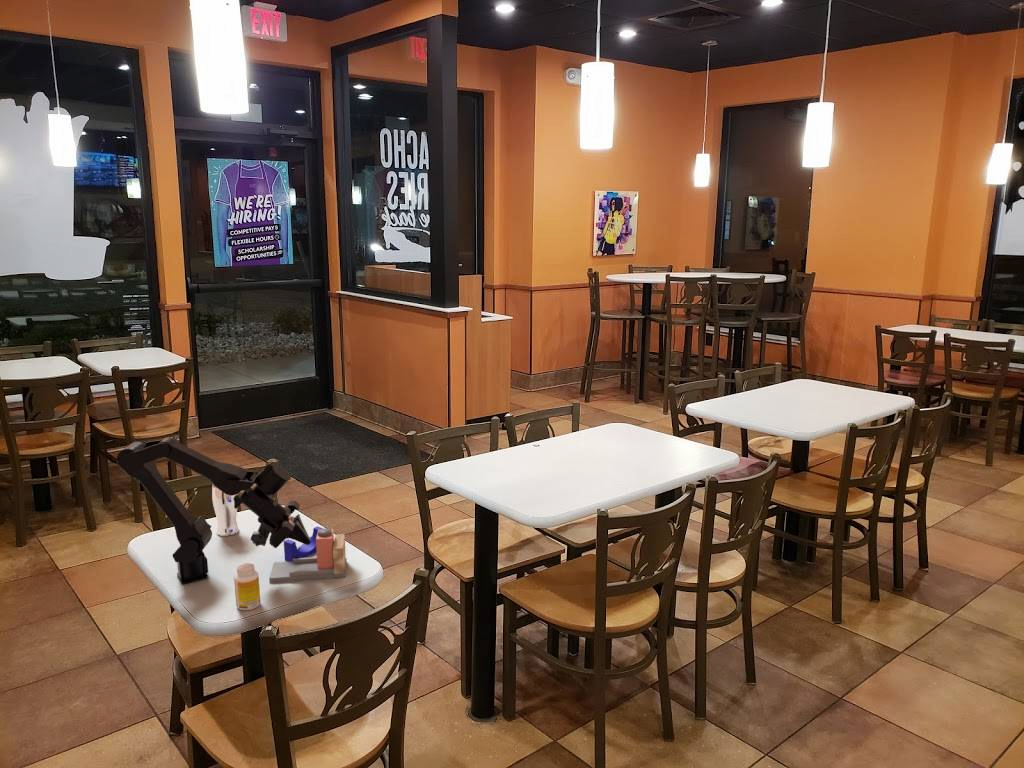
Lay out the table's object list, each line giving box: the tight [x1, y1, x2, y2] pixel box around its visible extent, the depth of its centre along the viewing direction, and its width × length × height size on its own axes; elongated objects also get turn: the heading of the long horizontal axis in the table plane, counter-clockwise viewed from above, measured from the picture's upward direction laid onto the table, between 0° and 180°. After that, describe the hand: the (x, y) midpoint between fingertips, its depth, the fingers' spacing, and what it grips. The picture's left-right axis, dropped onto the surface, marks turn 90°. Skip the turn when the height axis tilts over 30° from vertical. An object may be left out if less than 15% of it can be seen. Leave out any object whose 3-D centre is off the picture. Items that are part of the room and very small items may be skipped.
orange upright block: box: [316, 527, 335, 569], centre depth 201 cm, size 4×6×10 cm, turn 9°
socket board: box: [268, 556, 348, 583], centre depth 202 cm, size 19×9×2 cm, turn 99°
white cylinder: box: [211, 484, 239, 537], centre depth 225 cm, size 7×7×15 cm
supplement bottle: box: [233, 562, 261, 611], centre depth 184 cm, size 6×6×10 cm
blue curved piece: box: [283, 526, 324, 562], centre depth 212 cm, size 12×4×6 cm, turn 146°
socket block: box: [333, 533, 347, 574], centre depth 202 cm, size 2×9×7 cm, turn 9°
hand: (309, 543), depth 200 cm, fingers closed
